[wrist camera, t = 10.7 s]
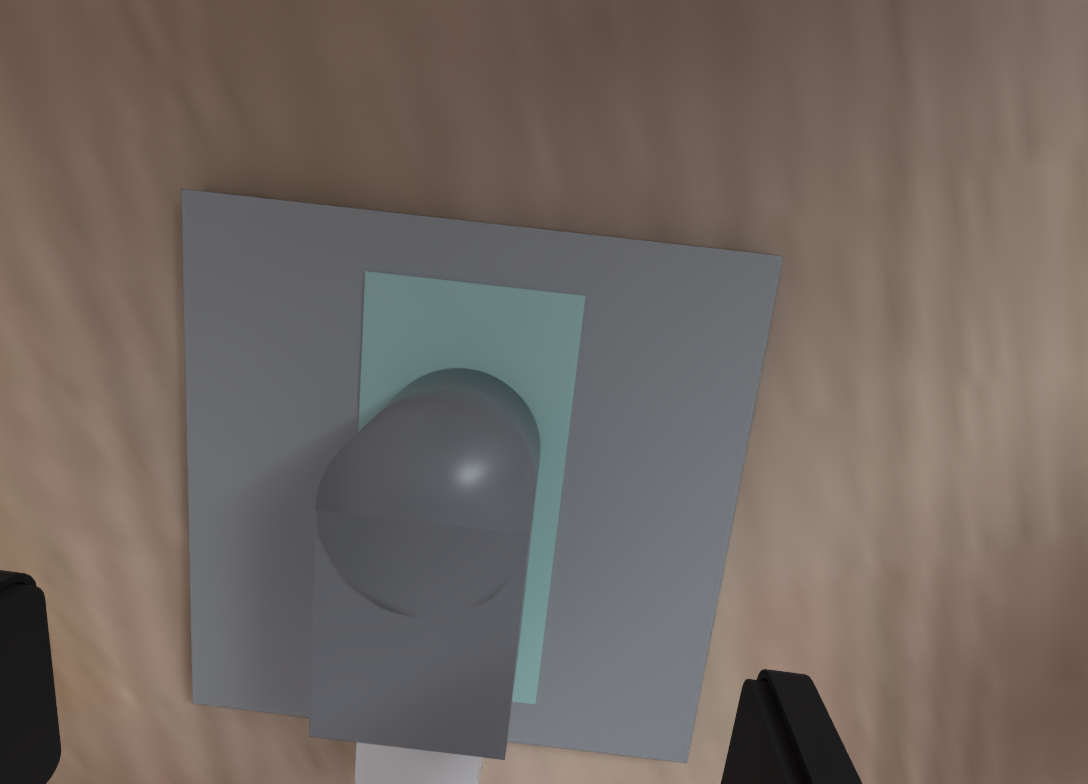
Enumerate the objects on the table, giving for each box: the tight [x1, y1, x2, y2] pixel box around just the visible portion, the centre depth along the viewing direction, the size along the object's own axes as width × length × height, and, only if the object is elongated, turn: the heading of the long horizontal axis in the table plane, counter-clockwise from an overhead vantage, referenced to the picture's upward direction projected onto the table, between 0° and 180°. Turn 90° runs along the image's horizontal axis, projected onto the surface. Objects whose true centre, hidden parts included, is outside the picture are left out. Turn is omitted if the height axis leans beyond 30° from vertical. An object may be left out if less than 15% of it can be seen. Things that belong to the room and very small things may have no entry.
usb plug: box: [310, 368, 540, 784], centre depth 15 cm, size 10×4×4 cm, turn 174°
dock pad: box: [181, 189, 784, 763], centre depth 17 cm, size 14×14×1 cm
